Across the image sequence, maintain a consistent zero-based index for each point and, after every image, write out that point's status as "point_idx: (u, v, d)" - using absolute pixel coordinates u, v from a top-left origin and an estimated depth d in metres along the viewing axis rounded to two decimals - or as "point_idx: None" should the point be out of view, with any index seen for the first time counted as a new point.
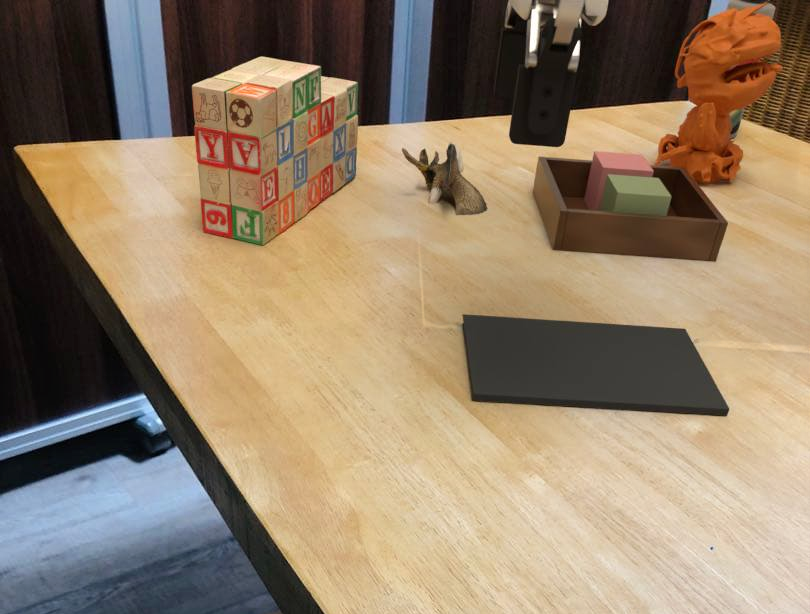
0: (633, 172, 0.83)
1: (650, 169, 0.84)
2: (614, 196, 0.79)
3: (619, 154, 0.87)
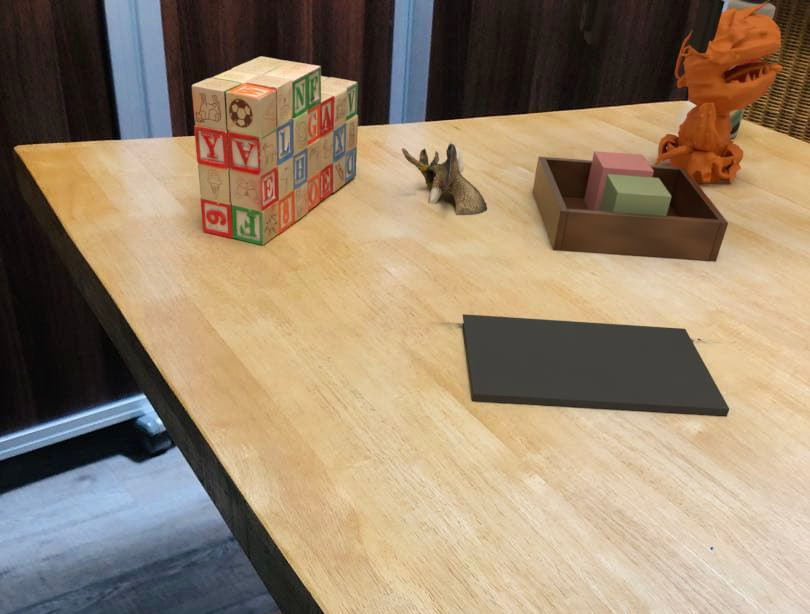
0: (633, 172, 0.83)
1: (650, 169, 0.84)
2: (614, 196, 0.79)
3: (619, 154, 0.87)
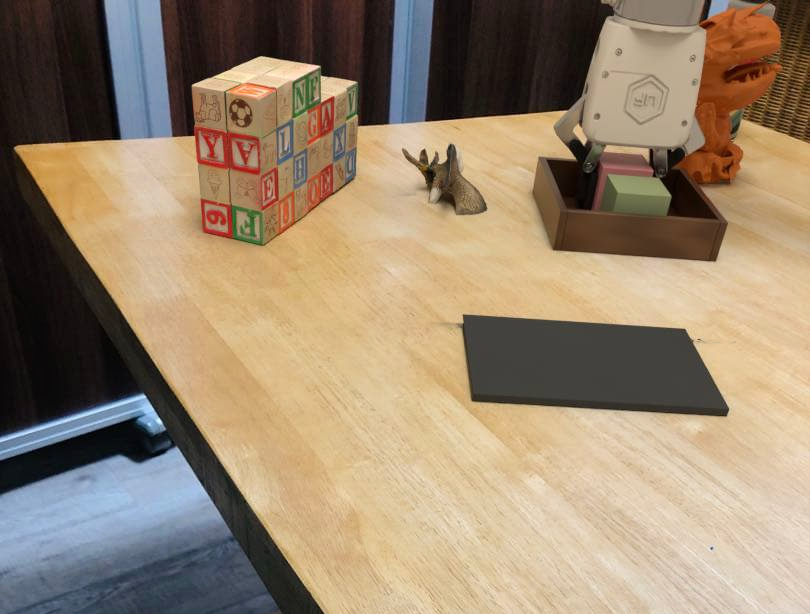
0: (633, 172, 0.83)
1: (650, 169, 0.84)
2: (614, 196, 0.79)
3: (619, 154, 0.87)
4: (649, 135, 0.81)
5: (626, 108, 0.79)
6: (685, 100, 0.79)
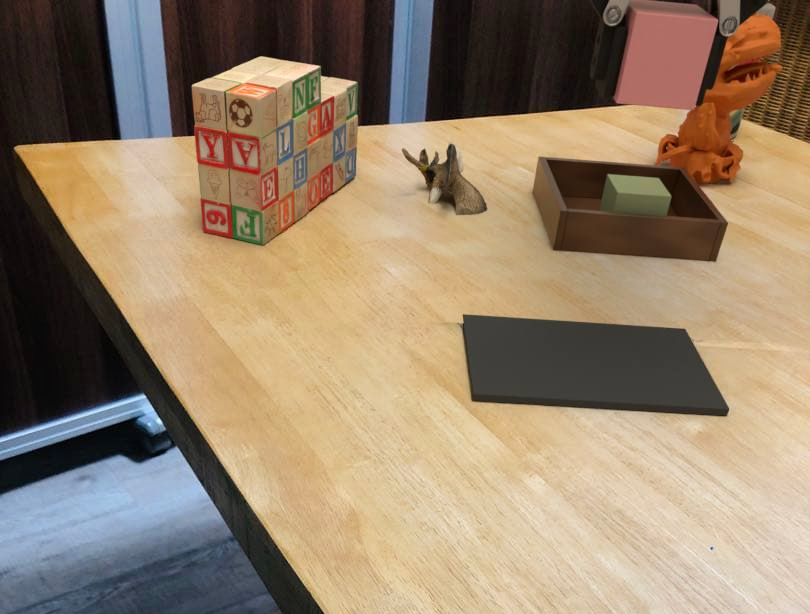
0: (685, 22, 0.51)
1: (713, 18, 0.52)
2: (614, 196, 0.79)
3: (660, 2, 0.55)
4: None
5: None
6: None
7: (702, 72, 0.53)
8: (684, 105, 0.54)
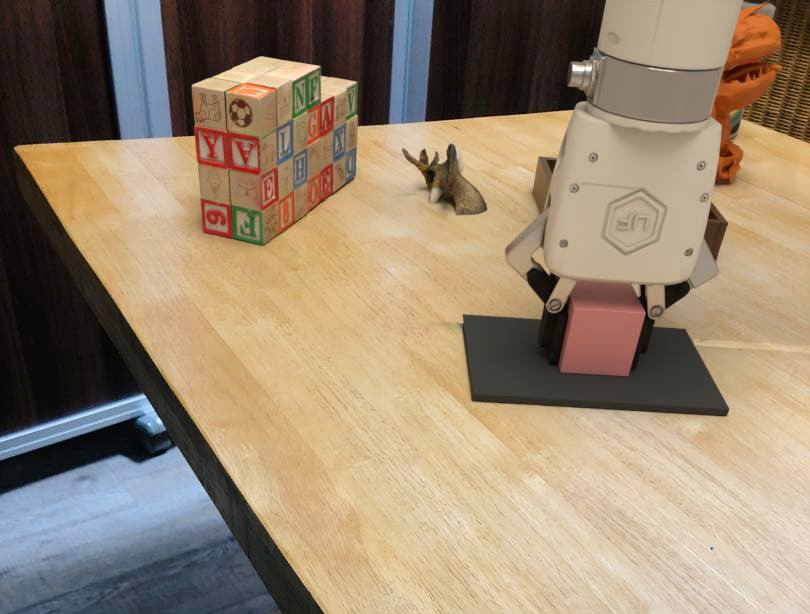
0: (617, 315, 0.59)
1: (641, 310, 0.59)
2: None
3: (598, 282, 0.62)
4: (639, 268, 0.57)
5: (605, 233, 0.55)
6: (690, 222, 0.55)
7: (634, 349, 0.61)
8: (619, 373, 0.62)
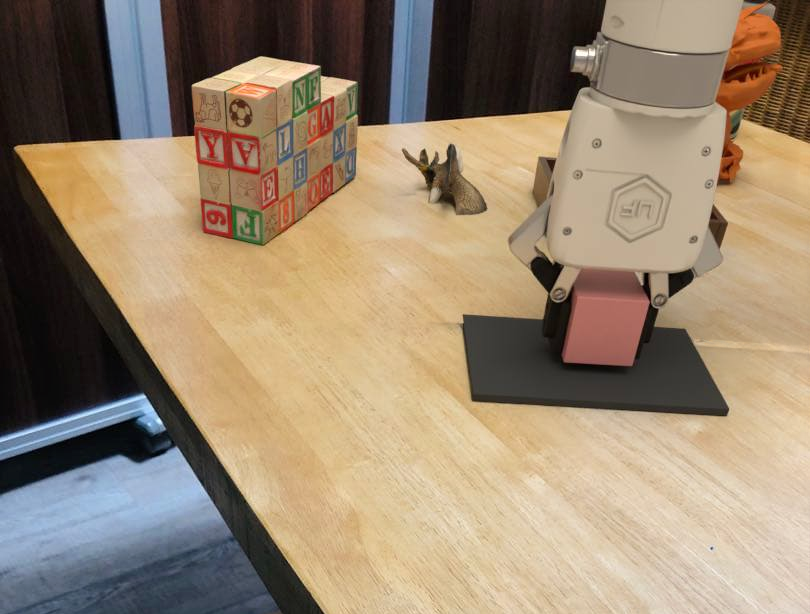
0: (620, 304, 0.59)
1: (645, 299, 0.59)
2: None
3: (601, 271, 0.62)
4: (643, 256, 0.56)
5: (609, 220, 0.55)
6: (695, 209, 0.54)
7: (638, 339, 0.60)
8: (623, 363, 0.62)
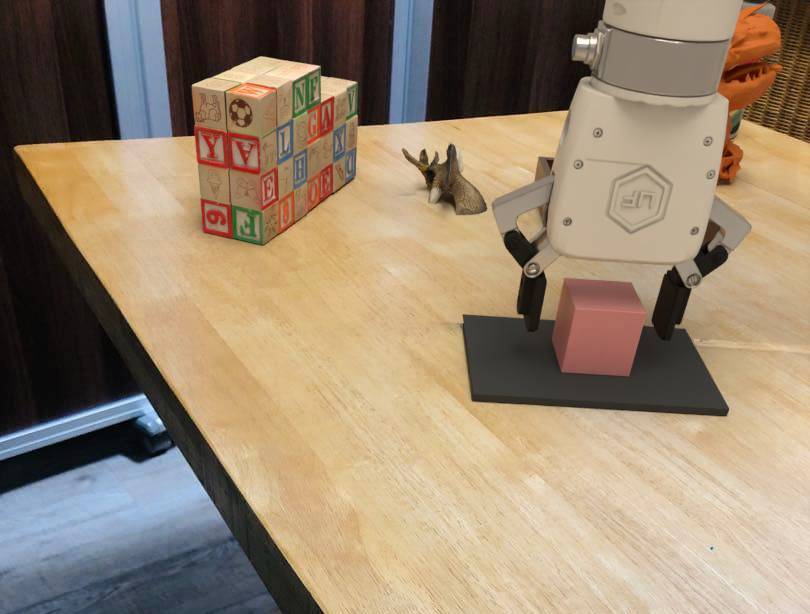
0: (618, 315, 0.59)
1: (642, 310, 0.59)
2: None
3: (599, 282, 0.62)
4: (644, 247, 0.56)
5: (610, 211, 0.54)
6: (696, 199, 0.54)
7: (635, 349, 0.61)
8: (620, 373, 0.62)
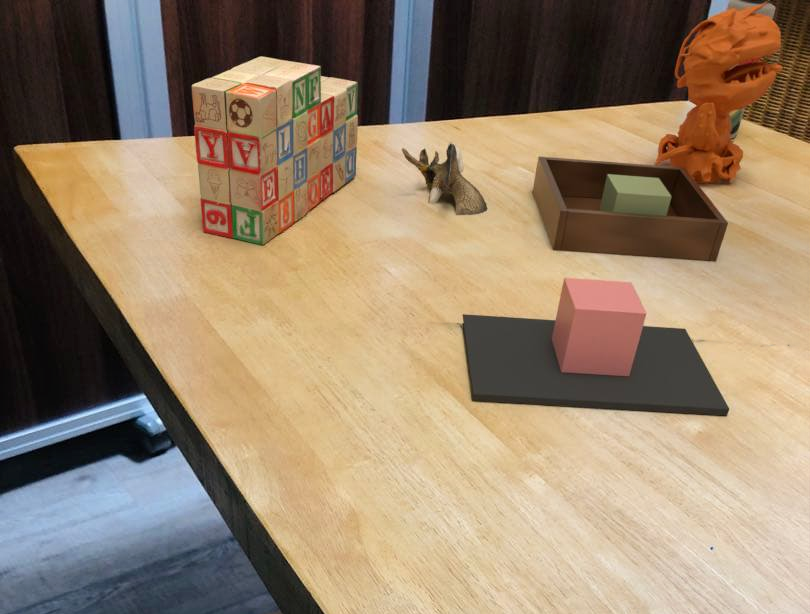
0: (618, 315, 0.59)
1: (642, 310, 0.59)
2: (614, 196, 0.79)
3: (599, 282, 0.62)
4: None
5: None
6: None
7: (635, 349, 0.61)
8: (620, 373, 0.62)
